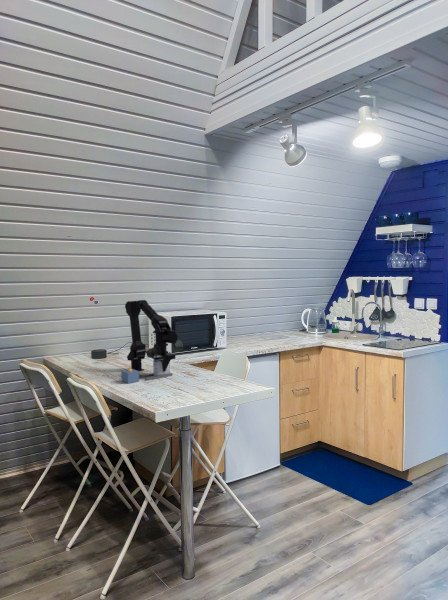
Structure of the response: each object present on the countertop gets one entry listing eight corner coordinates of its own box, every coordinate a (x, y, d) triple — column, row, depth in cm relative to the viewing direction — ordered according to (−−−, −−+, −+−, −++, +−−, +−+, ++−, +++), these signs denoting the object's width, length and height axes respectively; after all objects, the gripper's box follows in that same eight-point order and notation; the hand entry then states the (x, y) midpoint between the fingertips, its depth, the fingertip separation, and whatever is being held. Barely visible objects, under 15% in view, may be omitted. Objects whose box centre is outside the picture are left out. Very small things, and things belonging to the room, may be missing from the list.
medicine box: (165, 373, 245) (165, 358, 245) (170, 375, 242) (169, 359, 241) (153, 376, 240) (152, 360, 240) (157, 377, 237) (157, 361, 236)
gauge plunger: (127, 376, 229) (126, 369, 228) (130, 376, 230) (130, 368, 230) (129, 377, 227) (128, 369, 227) (133, 376, 228) (132, 369, 228)
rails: (138, 377, 236) (138, 375, 236) (163, 373, 247) (163, 371, 247) (146, 380, 230) (146, 378, 230) (172, 375, 240) (172, 373, 240)
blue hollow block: (121, 381, 229) (121, 370, 229) (132, 379, 233) (131, 368, 233) (128, 383, 224) (127, 372, 224) (138, 381, 228) (138, 370, 228)
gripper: (138, 342, 242) (139, 370, 243) (157, 345, 228) (158, 376, 228) (156, 339, 249) (157, 367, 250) (175, 343, 235) (176, 372, 236)
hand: (161, 370), depth 241 cm, fingers closed on medicine box, 4 cm apart
